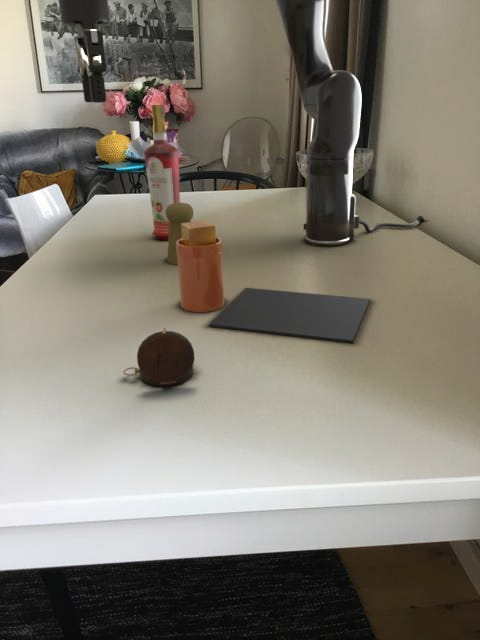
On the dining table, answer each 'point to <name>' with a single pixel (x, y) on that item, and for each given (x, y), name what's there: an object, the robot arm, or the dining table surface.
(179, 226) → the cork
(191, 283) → the tumbler
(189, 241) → the block
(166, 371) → the dark brown dome
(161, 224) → the liquor
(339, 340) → the mat
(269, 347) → the dining table surface
